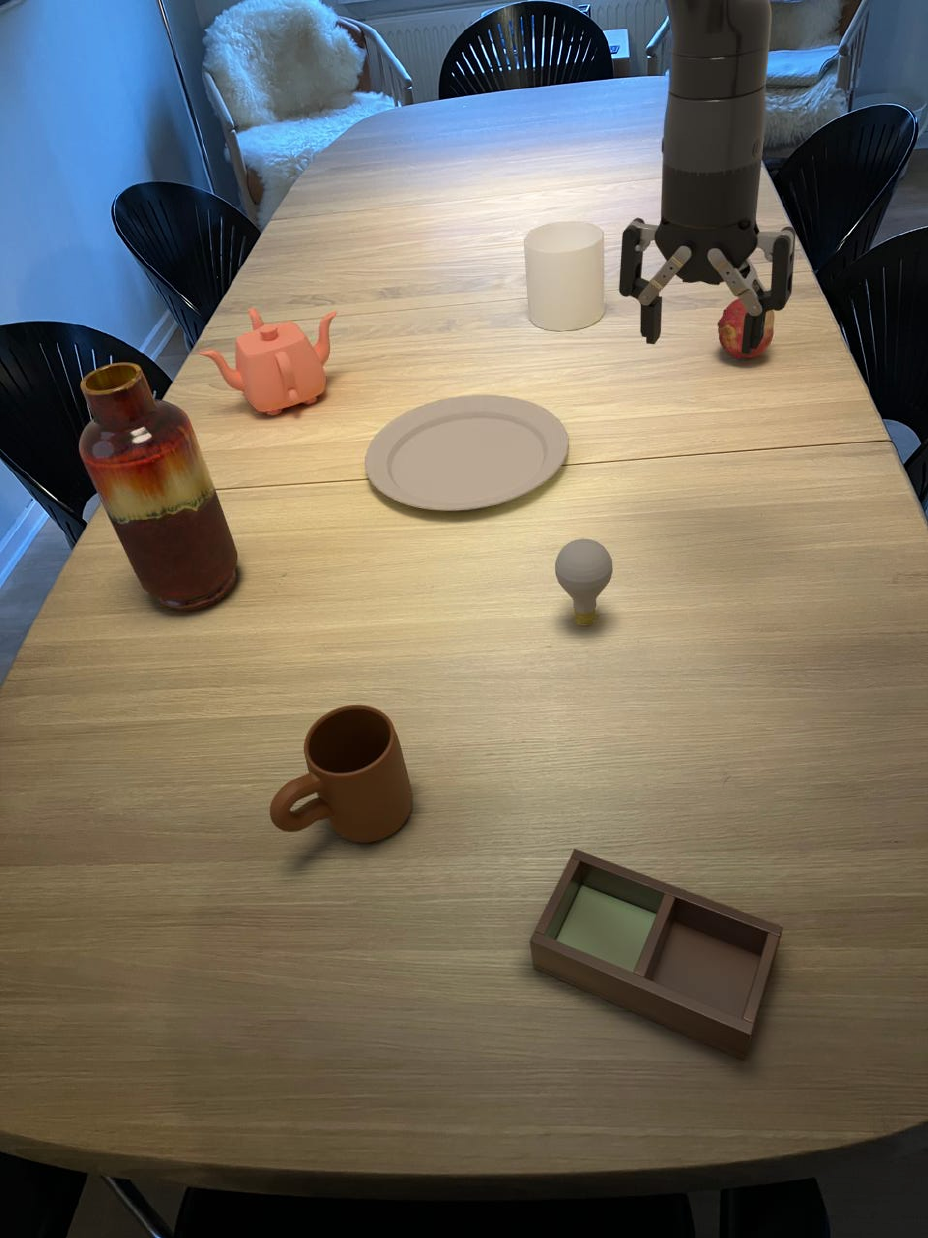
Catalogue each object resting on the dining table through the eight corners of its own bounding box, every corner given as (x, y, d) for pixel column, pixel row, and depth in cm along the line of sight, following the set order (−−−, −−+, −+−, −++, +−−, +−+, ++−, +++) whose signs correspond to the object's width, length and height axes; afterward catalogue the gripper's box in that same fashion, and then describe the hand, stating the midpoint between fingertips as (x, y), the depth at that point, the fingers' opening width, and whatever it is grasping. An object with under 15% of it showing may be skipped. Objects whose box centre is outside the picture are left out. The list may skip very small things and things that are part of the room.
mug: (322, 899, 73) (293, 832, 67) (268, 844, 78) (236, 776, 71) (432, 805, 79) (416, 735, 72) (376, 758, 83) (356, 688, 77)
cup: (513, 318, 144) (507, 241, 136) (564, 290, 149) (561, 214, 141) (568, 338, 137) (565, 258, 129) (620, 309, 142) (620, 230, 134)
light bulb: (617, 637, 91) (617, 559, 84) (562, 645, 91) (558, 567, 84) (607, 600, 95) (606, 523, 88) (554, 608, 95) (549, 531, 88)
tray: (576, 877, 72) (574, 848, 69) (776, 955, 66) (783, 926, 63) (532, 968, 67) (529, 940, 64) (744, 1061, 61) (750, 1035, 58)
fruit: (762, 373, 124) (769, 317, 118) (706, 365, 127) (710, 309, 121) (779, 347, 128) (786, 291, 123) (725, 339, 131) (729, 285, 126)
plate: (433, 394, 129) (431, 381, 128) (602, 427, 118) (602, 413, 117) (327, 495, 114) (324, 481, 113) (509, 543, 103) (508, 529, 102)
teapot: (219, 419, 131) (195, 348, 124) (268, 370, 141) (248, 301, 133) (308, 429, 126) (289, 355, 119) (353, 377, 136) (337, 306, 128)
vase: (264, 579, 104) (191, 367, 86) (181, 633, 99) (86, 420, 81) (210, 542, 110) (132, 338, 92) (130, 591, 105) (30, 385, 87)
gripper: (817, 138, 71) (790, 335, 82) (639, 133, 77) (636, 318, 88) (796, 171, 66) (770, 375, 77) (608, 164, 72) (609, 355, 83)
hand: (699, 345), depth 82 cm, fingers open, 8 cm apart
